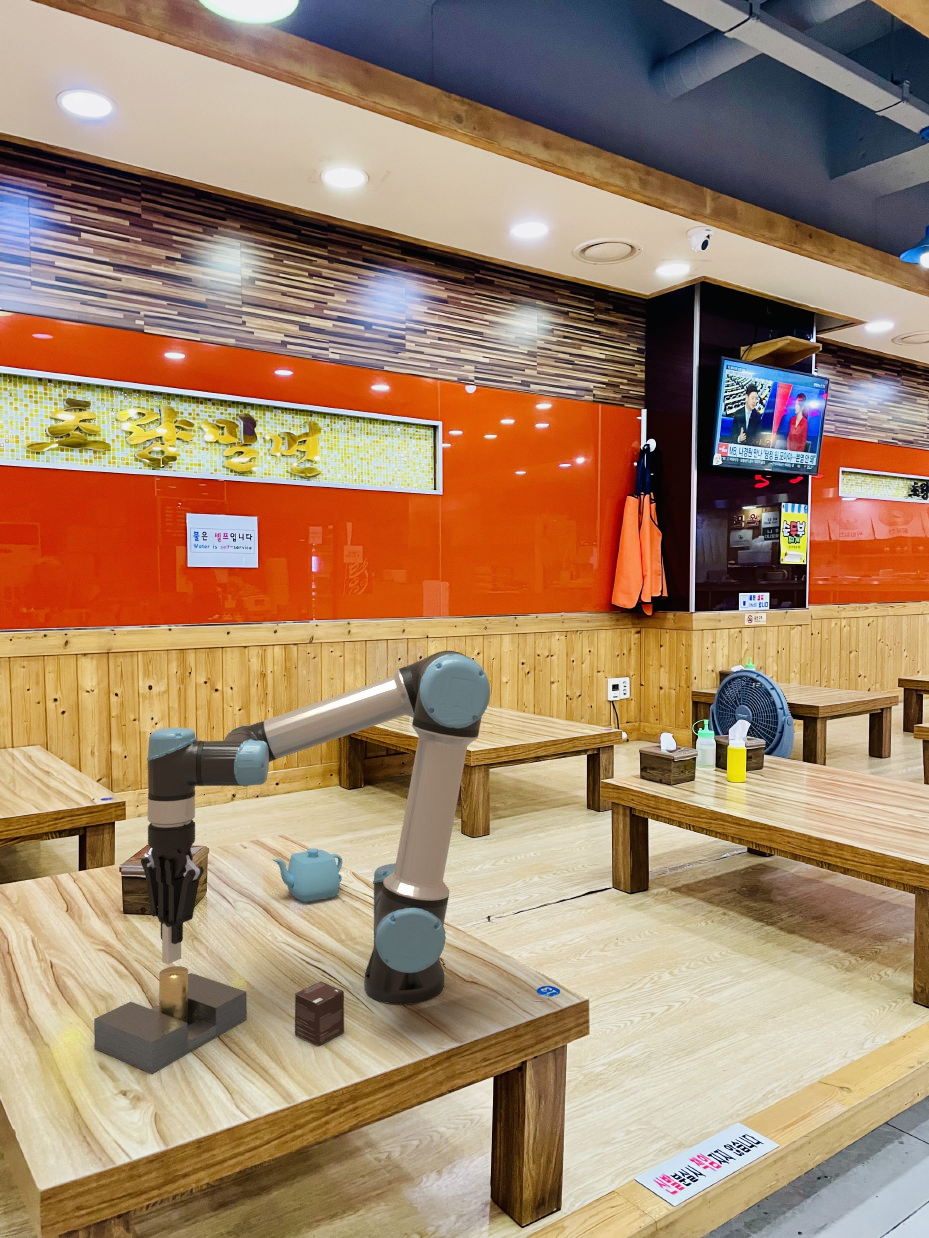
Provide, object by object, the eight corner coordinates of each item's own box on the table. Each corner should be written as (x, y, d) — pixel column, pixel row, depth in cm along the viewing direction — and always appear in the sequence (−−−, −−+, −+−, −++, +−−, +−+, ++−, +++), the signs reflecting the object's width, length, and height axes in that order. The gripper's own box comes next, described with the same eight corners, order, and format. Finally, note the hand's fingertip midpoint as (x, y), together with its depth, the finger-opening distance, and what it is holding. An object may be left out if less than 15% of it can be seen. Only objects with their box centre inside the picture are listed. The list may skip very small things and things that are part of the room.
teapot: (263, 895, 213) (263, 849, 213) (332, 883, 223) (332, 838, 222) (280, 911, 203) (280, 863, 202) (351, 897, 212) (352, 851, 212)
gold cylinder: (193, 1028, 148) (193, 970, 147) (171, 1040, 144) (171, 980, 143) (175, 1020, 150) (175, 963, 150) (152, 1032, 146) (153, 973, 146)
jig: (246, 1019, 152) (246, 991, 152) (151, 1073, 135) (151, 1042, 134) (191, 999, 159) (190, 972, 159) (94, 1048, 142) (94, 1018, 142)
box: (321, 1021, 151) (321, 980, 151) (345, 1033, 147) (345, 990, 147) (293, 1035, 147) (293, 992, 146) (317, 1047, 143) (317, 1003, 143)
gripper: (216, 822, 145) (216, 961, 146) (163, 811, 152) (163, 944, 153) (180, 832, 139) (180, 978, 140) (127, 820, 146) (127, 959, 147)
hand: (171, 960), depth 146 cm, fingers closed
